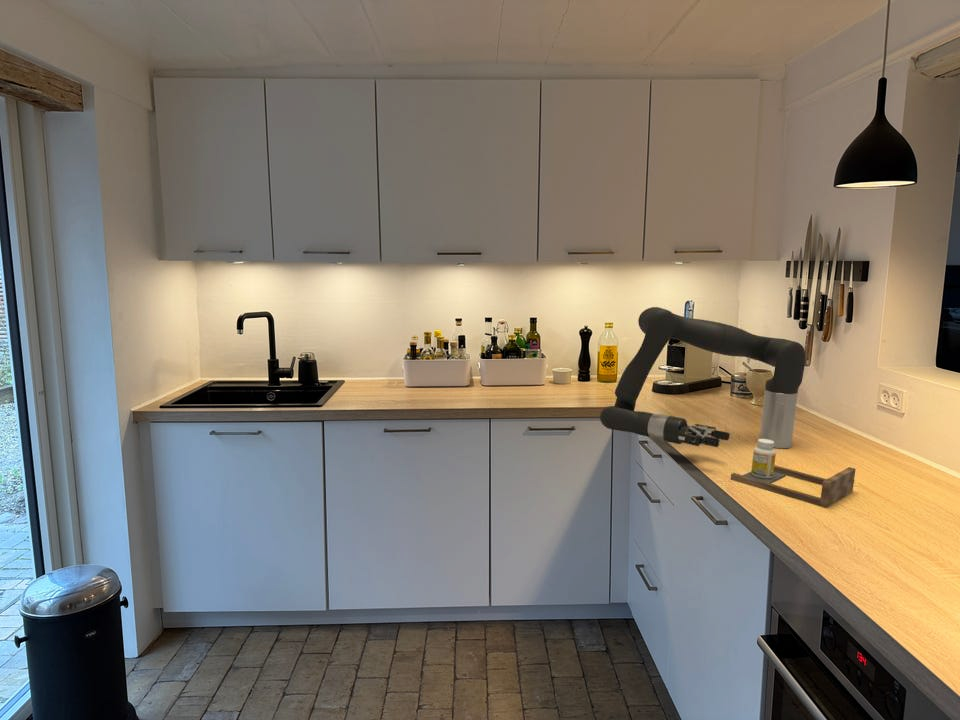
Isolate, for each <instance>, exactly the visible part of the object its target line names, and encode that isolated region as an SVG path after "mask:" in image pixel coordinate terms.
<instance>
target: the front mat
mask: <svg viewBox="0 0 960 720" xmlns="http://www.w3.org/2000/svg"><path fill="white" fill-rule="evenodd" d="M742 475H743V476H746V477H750V478H753V479H757V480H760V481H764V482H767V483H771V484H773V483H775V482H776V481H779V480H781V479H783V478H785V477H787V475H785V474H781V473H777V472H773V477H772V478H770V479H763V478H758V477H755V476H753V475H752V474H751V471H749V472H747V473H745V474H742Z"/></svg>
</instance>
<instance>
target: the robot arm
mask: <svg viewBox="0 0 960 720" xmlns="http://www.w3.org/2000/svg"><path fill="white" fill-rule="evenodd" d="M637 321H638V327H639V329H640V331H641V332H642V333H643V334H644V338H643V340H642V343H641V345H640V347H639V349H638V351H637V352H636V354H635V355H634V357H633V358H632V360H630V361H629V363H628V364H627V366H626V367H625V369H624V371H623V372H622V375H620V376H621V377H619V381H618V382H617V385H616V387H615V390H614V395H615V397H616V400H615V403H614V404H613V405H610V406H606V407H604V408H603V409H602V411H601V412H600V415H599V419H600V423H601V424H602V425H603V426H604V427H605V428H606V429H609V430H612V431H613V430H614V431H619V432H626V433H633V434H635V435H639V436H644V437H648V438H652V439H655V440H657V441H662V442H667V443H672V444H675V445H676V444H677V445H682V444H686V445H692V446H695V447H700V446H705V445H706V446H710V447H714V448H718V447H719V446H720V440H723V441H729V440H730V436H731V435H730V432H727V431H723V430H717V427H716V426H711V425H705V424H698V423H695V424H694V425H693V424H692V425H691V426H689V424H688V422H687V420H686V418H684V417H683V418H682V417H678V416H672V415H667V414H661V413H660V414H659V413H653V412H649V411H648V412H647V411H640V410H639V411H638V410H637V411H636V410H635V408H636V403H637V400H638V397H639V396H640V393H641V391H642V390H643V387H644V385H645V383H646V380H647V378H648V376H649V374H650V372H651V370H652V368H653V366H654V365H655V363H656V361H657V359H658V358H659V356H660V354H661V353H662V351H663V350H664V348H665V346H667V344H668V342H669V341H670V339H672V340H677V341H680V342H683V343H686V344H688V345H691V346H693V347H695V348H698V349H701V350H704V351H707V352H711V353H714V354H718V355H722V356H727V357H729V356H730V357H738V358H739V357H740V358H741V357H744V358H748V359H749V358H750V359H753V360H756V361H759V362H761V363H764V364H766V365H768V366H771V367H773V368H774V371H773V376H772V377H771V378H770V379H767V380H766V381H765V385H764V386H765V387H764V395H763V402H762V403H763V404H762V413H761V424H760V431H759V432H760V434H759V439H768V440H772V441H774V447H773V449H774V448H776V449H791V448H792V447H793V446H792V445H793V437H794V429H795V420H796V411H797V403H798V400H797V399H798V393H799V388H800V386H801V385H802V382H803V379H804V378H803V377H804V373H805V366H806V360H807V359H806V357H807V356H806V349H805V347H804V346H803V345H802V344H801V343H800V342H797V341H795V340H790V339H787V338H786V339H785V338H778V337H767V336H763V335H757V334H754V333H751V332H749V331H746V330H745V329H742V328H739V327H737V326H733V325H731V324H726V323H722V322H718V321H713V320H709V319H708V320H705V319H701V318H693V317H692V318H690V317H686V316H685V317H684V316H681V315H679V314H676V313H673V312H672V311H671V310H669V309H667V308H666V309H665V308H663V307H659V306H652V307H649V308H645V310H643V311H642V312H641V313H640V314H639V316H638V320H637Z"/></svg>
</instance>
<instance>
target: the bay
mask: <svg viewBox="0 0 960 720" xmlns="http://www.w3.org/2000/svg"><path fill="white" fill-rule="evenodd" d="M856 471H857V469H856V468H855V467H847V468H845V469H843V470H841V471H839V472H838V473H835V474H833V475H832V476H830V477H828V478H823V477H819V476H816V475H814V474H813V475H812V474H809V473H806V472H803V471H802V472H801V471H798V470H794V469H790V468H787V467H783V466H778V465H776V464H774V472H777V473H781V474H785V475H786V477H787V476H788V477H792V478H795V479H799V480H802V481H805V482H809V483H814V484H817V485H821V493H820V497H819V496H815V495H812V494H809V493H805V492H803V491H802V492H801V491H797V490H794V489H791V488H787V487H784V486H782V485H778V484H773V483H767V482H764V481H760V480H757V479H753V478H750V477H746V476H743V475H744V474H739V473H736V472H733V473H731V474H730V480H732V481H734V482H735V481H736V482H739V483H742V484H746V485H749V486H751V487H752V486H753V487H755V488H760V489H762V490H766V491H769V492H772V493H775V494H780V495H783V496H786V497H789V498H792V499H797V500H800V501H802V502H807V503H810V504H813V505H816V506H820V507H823V508H828V507H830V506H831V505H833V504H834V503H836V502H838V501H840V500H841V499H843V498H845V497H846V496H847V495H848V496H849V494H851V493H853V491H854V484H855V476H856Z"/></svg>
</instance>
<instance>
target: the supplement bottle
mask: <svg viewBox="0 0 960 720" xmlns="http://www.w3.org/2000/svg"><path fill="white" fill-rule="evenodd" d="M756 443H757V446H756V447H754V448H753V455H752V463H751V471H750V472H751V474H752V475H753V476H755V477H758V478H763V479H770V478H772V477H773V472H774V465H776V464H775V462H776V455H777V453H776V450H775V449H774V441H772V440H768V439H760V438H758V439H757V442H756Z"/></svg>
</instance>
